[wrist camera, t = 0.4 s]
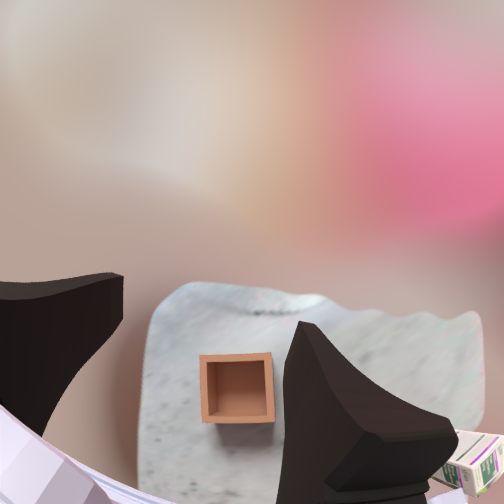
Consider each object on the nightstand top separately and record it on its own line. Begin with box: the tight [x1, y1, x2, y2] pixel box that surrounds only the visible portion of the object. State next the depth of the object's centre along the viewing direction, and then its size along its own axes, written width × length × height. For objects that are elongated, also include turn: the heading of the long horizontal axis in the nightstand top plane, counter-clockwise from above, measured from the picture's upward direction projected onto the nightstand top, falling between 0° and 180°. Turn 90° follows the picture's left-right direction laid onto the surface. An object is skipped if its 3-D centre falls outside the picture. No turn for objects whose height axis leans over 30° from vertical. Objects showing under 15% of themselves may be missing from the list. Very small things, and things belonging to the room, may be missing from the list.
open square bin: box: [200, 352, 275, 423], centre depth 30 cm, size 8×8×6 cm
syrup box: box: [430, 429, 504, 498], centre depth 19 cm, size 6×6×14 cm
